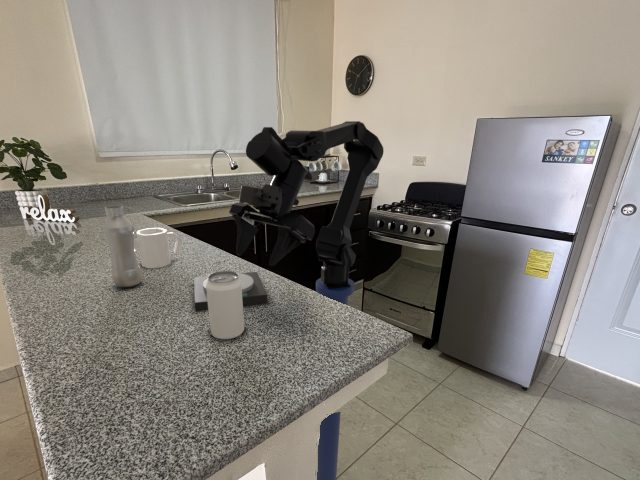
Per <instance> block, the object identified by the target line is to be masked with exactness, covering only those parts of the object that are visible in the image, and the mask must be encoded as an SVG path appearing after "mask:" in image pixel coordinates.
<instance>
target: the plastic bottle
mask: <svg viewBox="0 0 640 480" xmlns="http://www.w3.org/2000/svg"><path fill="white" fill-rule="evenodd" d="M104 210H105V216H107V218H106V220H105V222H104V224H103V226H102V227H103V228H102V232H103V233H102V234H103V235H104V238H105V241H106V243H107V247H108V250H109V252H110V253H109V255H110V260H111V279H112V281H113V283H114V284H115V286H117V287H118V288H119V287H120V288H130V287H134V286H137V285H139V284H140V283H141V282H142V279H143V272H142V270H141V267H140V265H139V261H138V258H137V254H136V249H135V248H136V247H135V227H134V225H133V223H132V222H131V221H130V220H129V219H128V218H127V217H126V216H125V214H126V212H125V210H124V206H123V205H107V206H104Z"/></svg>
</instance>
